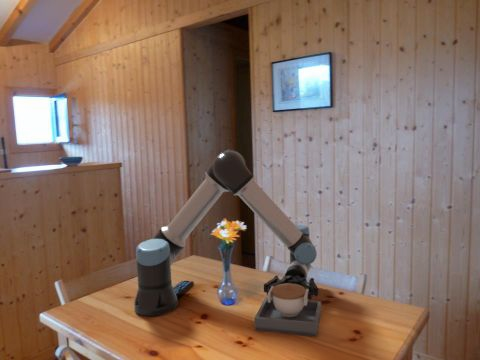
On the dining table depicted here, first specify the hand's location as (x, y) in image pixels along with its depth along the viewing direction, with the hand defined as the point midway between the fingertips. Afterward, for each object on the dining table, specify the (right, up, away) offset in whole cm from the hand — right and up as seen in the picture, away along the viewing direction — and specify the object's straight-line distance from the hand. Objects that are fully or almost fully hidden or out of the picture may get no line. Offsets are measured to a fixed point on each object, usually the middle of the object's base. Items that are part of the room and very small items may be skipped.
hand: (286, 299), depth 122 cm
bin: (+1, -8, +5) cm, 10 cm away
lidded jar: (+1, -6, +5) cm, 7 cm away
